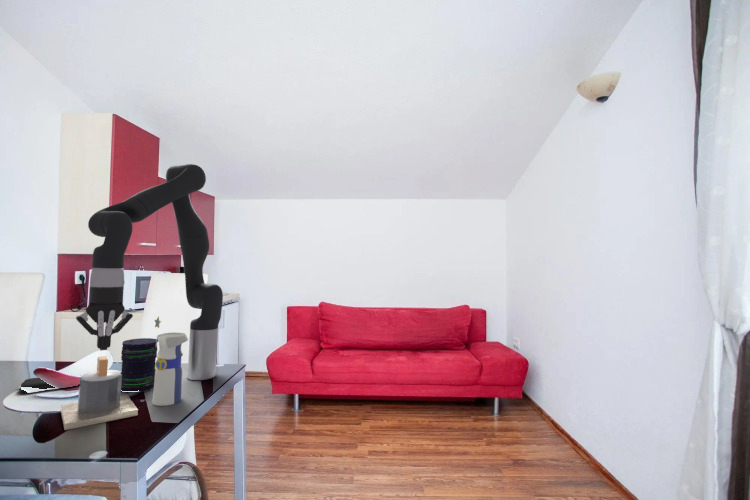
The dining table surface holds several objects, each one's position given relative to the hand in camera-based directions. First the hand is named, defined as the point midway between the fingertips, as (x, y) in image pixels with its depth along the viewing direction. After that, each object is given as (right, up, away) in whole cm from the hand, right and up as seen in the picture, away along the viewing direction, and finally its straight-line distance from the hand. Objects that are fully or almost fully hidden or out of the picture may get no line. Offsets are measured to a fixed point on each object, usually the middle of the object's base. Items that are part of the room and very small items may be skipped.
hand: (103, 349), depth 102 cm
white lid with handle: (0, -10, 0) cm, 10 cm away
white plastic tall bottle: (+12, -18, +10) cm, 24 cm away
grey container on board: (-1, -17, -1) cm, 17 cm away
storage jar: (-3, -18, +20) cm, 27 cm away
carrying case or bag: (-30, -17, +19) cm, 39 cm away
